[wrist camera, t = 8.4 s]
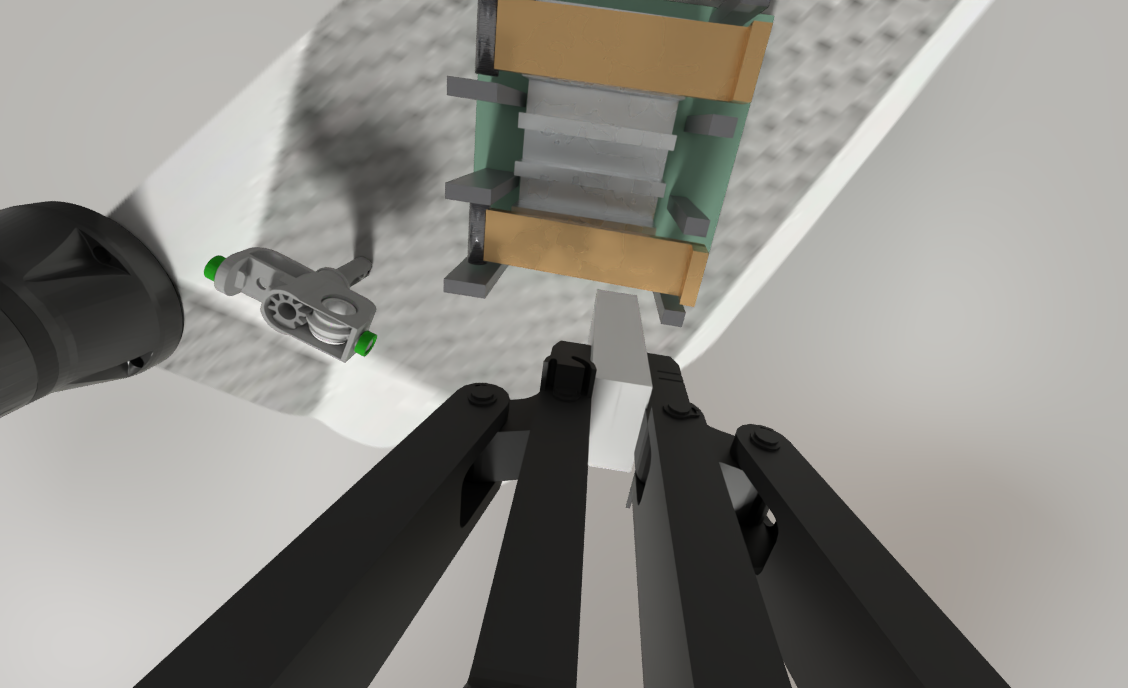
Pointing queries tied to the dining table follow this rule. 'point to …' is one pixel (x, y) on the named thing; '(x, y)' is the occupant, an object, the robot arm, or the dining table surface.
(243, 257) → the mechanical component
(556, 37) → the strap
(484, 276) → the set of grey pegs
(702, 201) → the socket board
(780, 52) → the dining table surface
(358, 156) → the dining table surface
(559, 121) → the heatsink
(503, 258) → the strap
